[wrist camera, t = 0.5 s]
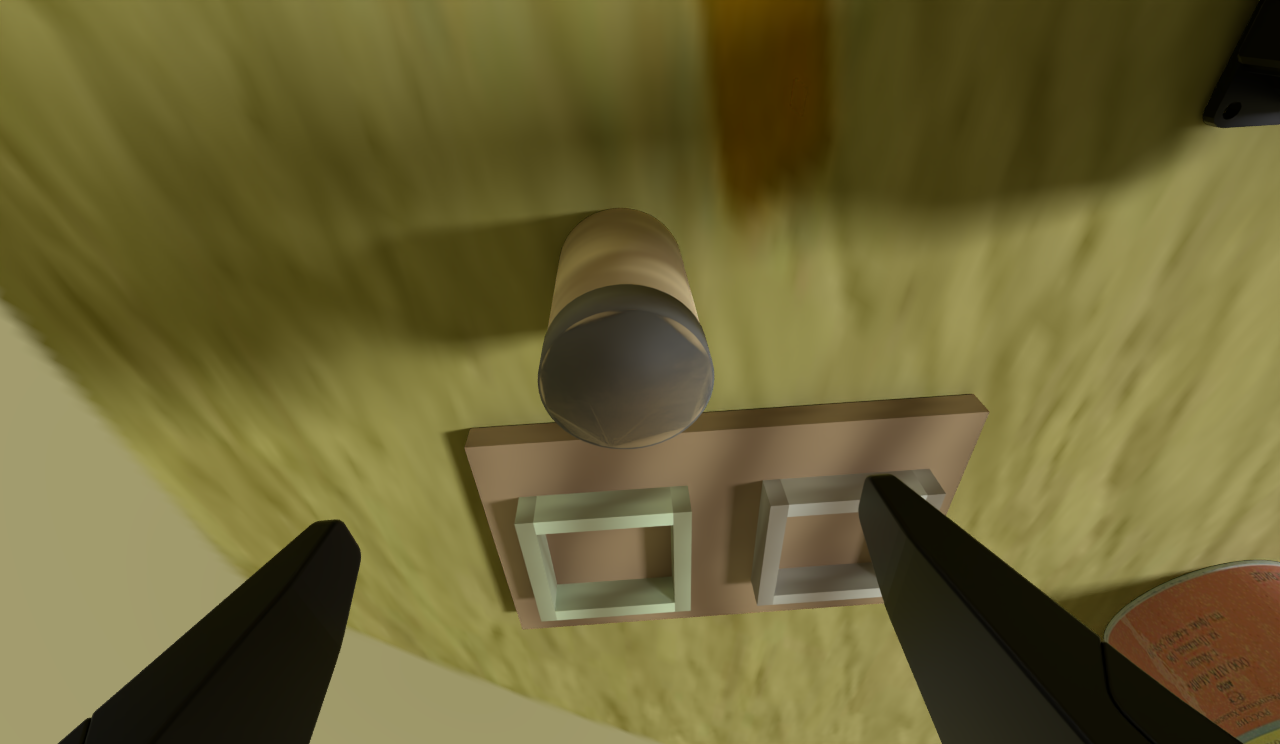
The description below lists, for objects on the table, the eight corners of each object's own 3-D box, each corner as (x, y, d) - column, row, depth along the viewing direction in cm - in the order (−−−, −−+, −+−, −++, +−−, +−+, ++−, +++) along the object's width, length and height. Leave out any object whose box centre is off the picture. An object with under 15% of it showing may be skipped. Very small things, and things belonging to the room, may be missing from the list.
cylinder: (683, 202, 18) (716, 301, 13) (683, 318, 21) (711, 443, 15) (549, 211, 18) (523, 313, 13) (566, 326, 21) (551, 454, 15)
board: (973, 394, 24) (1011, 435, 22) (900, 582, 32) (921, 626, 30) (470, 428, 24) (456, 474, 21) (525, 609, 32) (519, 656, 30)
